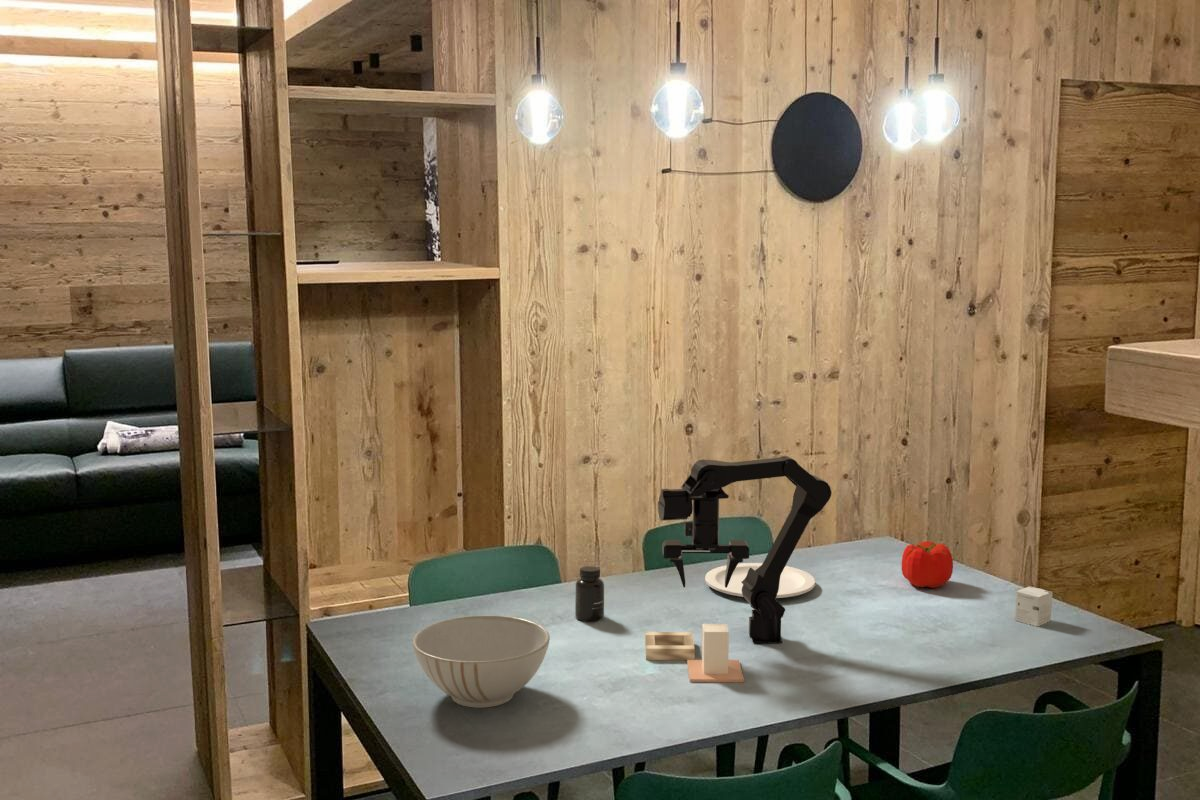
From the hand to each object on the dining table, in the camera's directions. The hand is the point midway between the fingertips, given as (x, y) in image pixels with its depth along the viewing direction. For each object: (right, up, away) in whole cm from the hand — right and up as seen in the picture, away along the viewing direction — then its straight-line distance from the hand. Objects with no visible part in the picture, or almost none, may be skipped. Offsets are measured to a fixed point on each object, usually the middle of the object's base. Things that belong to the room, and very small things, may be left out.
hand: (705, 586), depth 264 cm
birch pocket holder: (-8, -14, -3) cm, 16 cm away
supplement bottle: (-26, -11, +19) cm, 34 cm away
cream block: (+1, -15, -15) cm, 21 cm away
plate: (+18, -7, +43) cm, 47 cm away
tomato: (+61, -7, +44) cm, 76 cm away
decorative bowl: (-47, -18, -27) cm, 56 cm away
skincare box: (+78, -11, +16) cm, 81 cm away
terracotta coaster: (+1, -15, -15) cm, 21 cm away
